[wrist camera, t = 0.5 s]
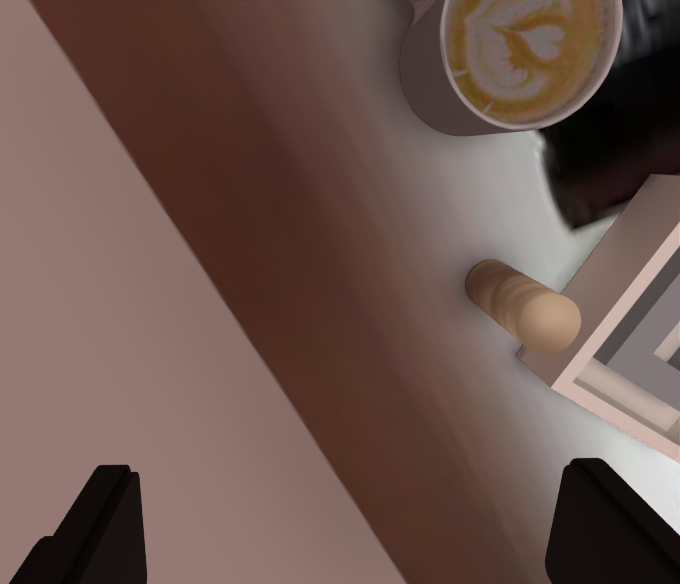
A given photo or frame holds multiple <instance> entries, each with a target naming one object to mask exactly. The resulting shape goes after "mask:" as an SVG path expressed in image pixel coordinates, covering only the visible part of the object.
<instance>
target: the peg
mask: <svg viewBox="0 0 680 584" xmlns="http://www.w3.org/2000/svg"><path fill="white" fill-rule="evenodd" d="M465 288H466V293H467V295H468V297H469V298H470V300H472V301H473V302H474V303H475V304H476V305H477V306H478V307H480V308H481V309H482V310H483V311H484V312H485V313H487V314H488V315H489V316H490V317H491V318H492V319H494V320H495V321H496V322H497V323H498V324H499V325H501V326H502V327H503V328H504V329H505V330H506V331H507V332H509V333H510V334H511V335H512V336H513V337H514V338H516V339H517V340H518V341H519V342H520V343H521V344H523V345H524V346H525V347H526V348H527V349H529V350H530V351H531V352H533V353H536V354H540V355H551V354H555V353H558V352H560V351H562V350H564V349H565V348H567V347H568V346H569V345H570V344H571V343H572V342H573V341H574V339H575V338H576V336H577V334H578V332H579V330H580V326H581V315H580V311H579V309H578V307H577V306H576V304H575V303H574V302H573V301H572V300H570V299H568V298H567V297H565V296H563V295H561V294H559V293H557V292H556V291H554V290H552V289H550V288H548V287H546V286H545V285H543V284H541V283H539V282H537V281H535V280H534V279H532V278H530V277H528V276H526V275H524V274H523V273H521V272H519V271H517V270H515V269H513V268H512V267H510V266H508V265H506V264H504V263H502V262H500V261H498V260H485V261H482V262H480V263H478V264H477V265H475V266H474V267H473V268H472V269H471V271H470V272H469V274H468V276H467V278H466V283H465Z"/></svg>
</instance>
